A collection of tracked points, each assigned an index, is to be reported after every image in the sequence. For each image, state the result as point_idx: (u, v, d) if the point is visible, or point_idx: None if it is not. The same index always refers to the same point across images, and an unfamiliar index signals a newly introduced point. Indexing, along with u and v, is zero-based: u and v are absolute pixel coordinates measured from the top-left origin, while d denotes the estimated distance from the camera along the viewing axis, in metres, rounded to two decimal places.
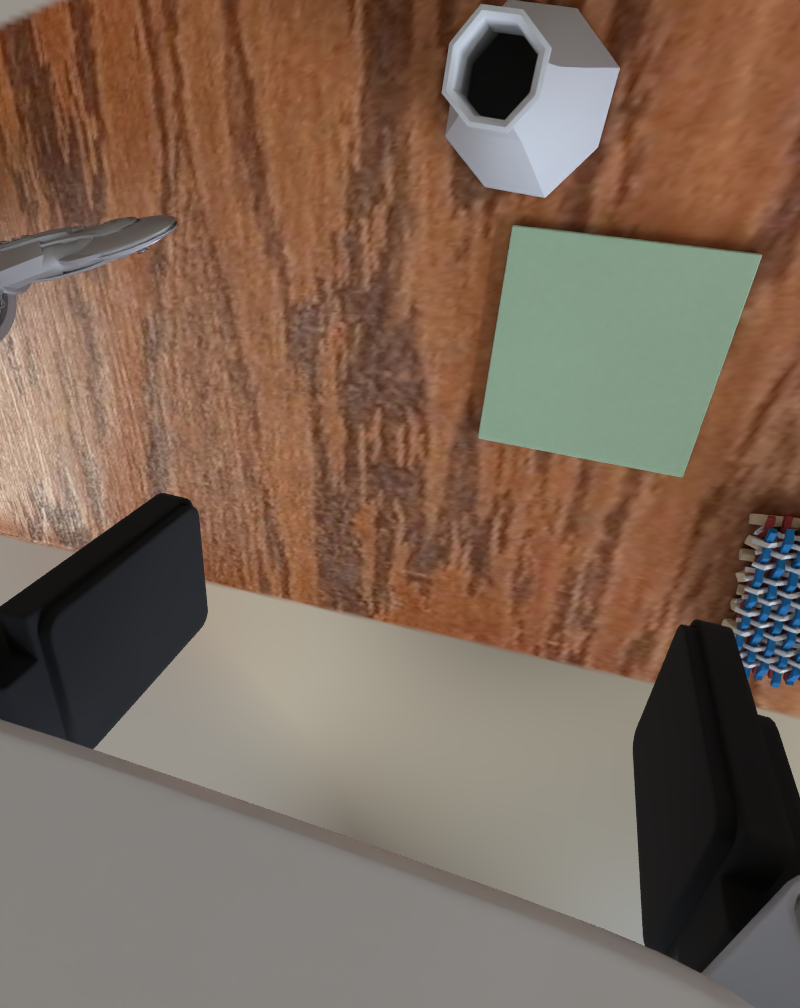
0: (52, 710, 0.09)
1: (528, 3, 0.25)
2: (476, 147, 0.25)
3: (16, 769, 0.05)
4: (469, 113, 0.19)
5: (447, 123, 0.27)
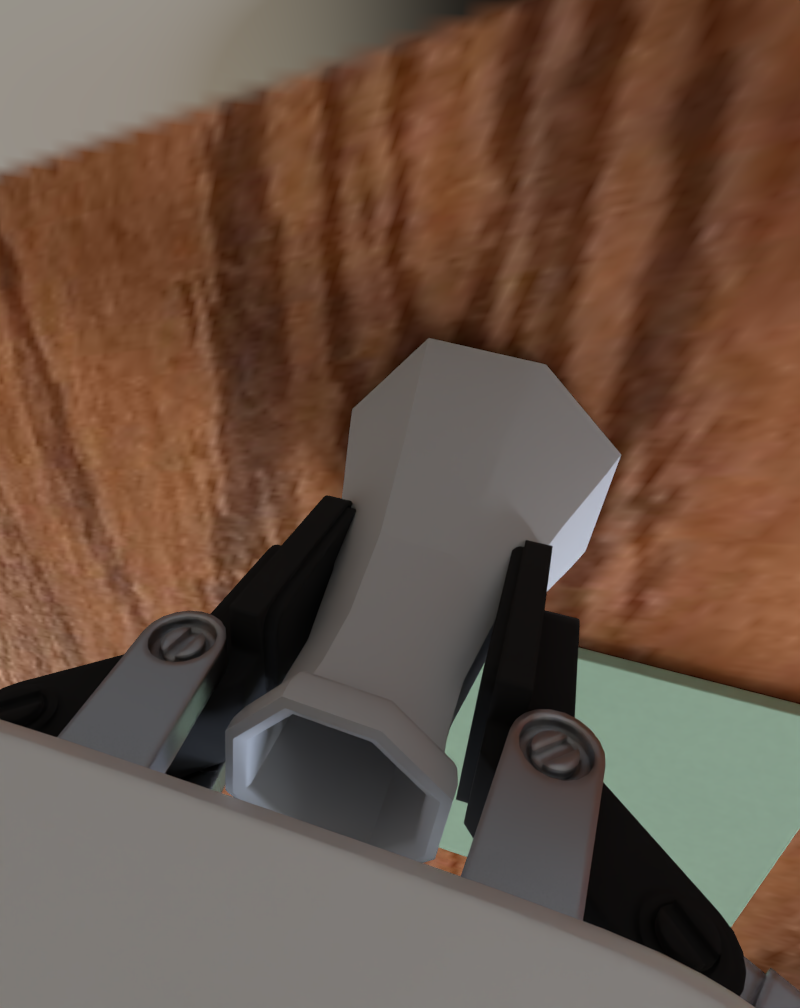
0: None
1: (462, 353, 0.14)
2: None
3: (16, 769, 0.05)
4: None
5: None
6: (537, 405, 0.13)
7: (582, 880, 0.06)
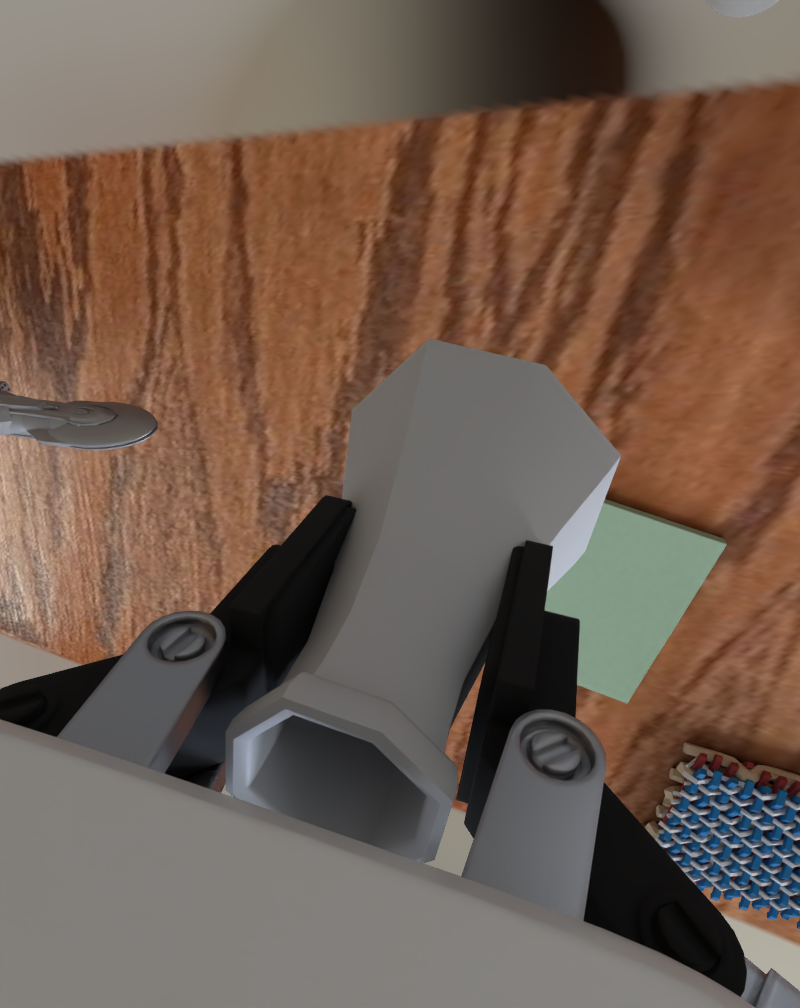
0: None
1: (462, 354, 0.14)
2: None
3: (16, 769, 0.05)
4: None
5: None
6: (537, 406, 0.13)
7: (583, 880, 0.06)
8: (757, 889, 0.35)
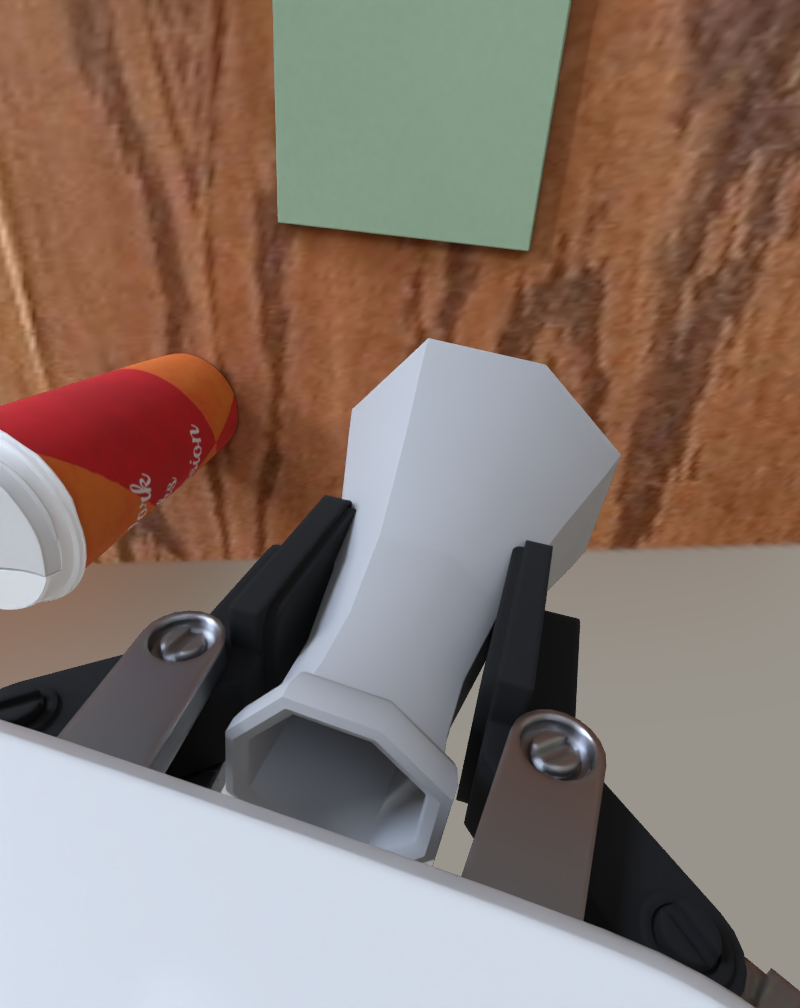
0: None
1: (461, 354, 0.14)
2: None
3: (16, 769, 0.05)
4: None
5: None
6: (537, 405, 0.13)
7: (582, 880, 0.06)
8: None
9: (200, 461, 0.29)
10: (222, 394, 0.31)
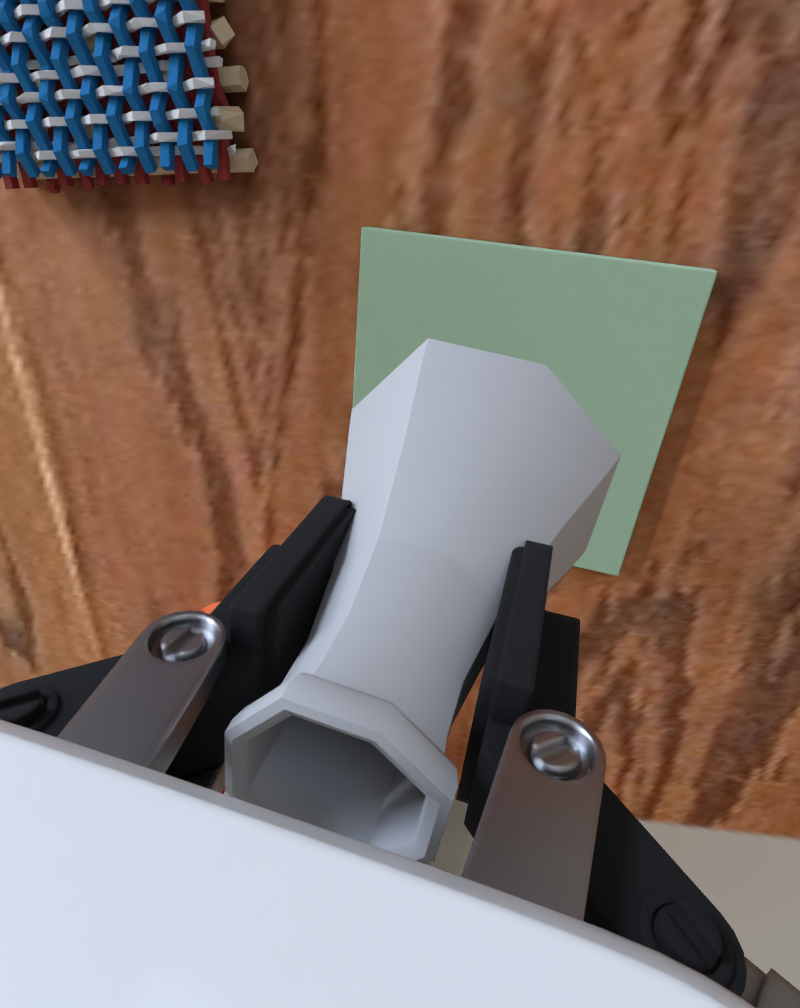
0: None
1: (461, 354, 0.14)
2: None
3: (16, 769, 0.05)
4: None
5: None
6: (537, 405, 0.13)
7: (582, 880, 0.06)
8: None
9: None
10: None
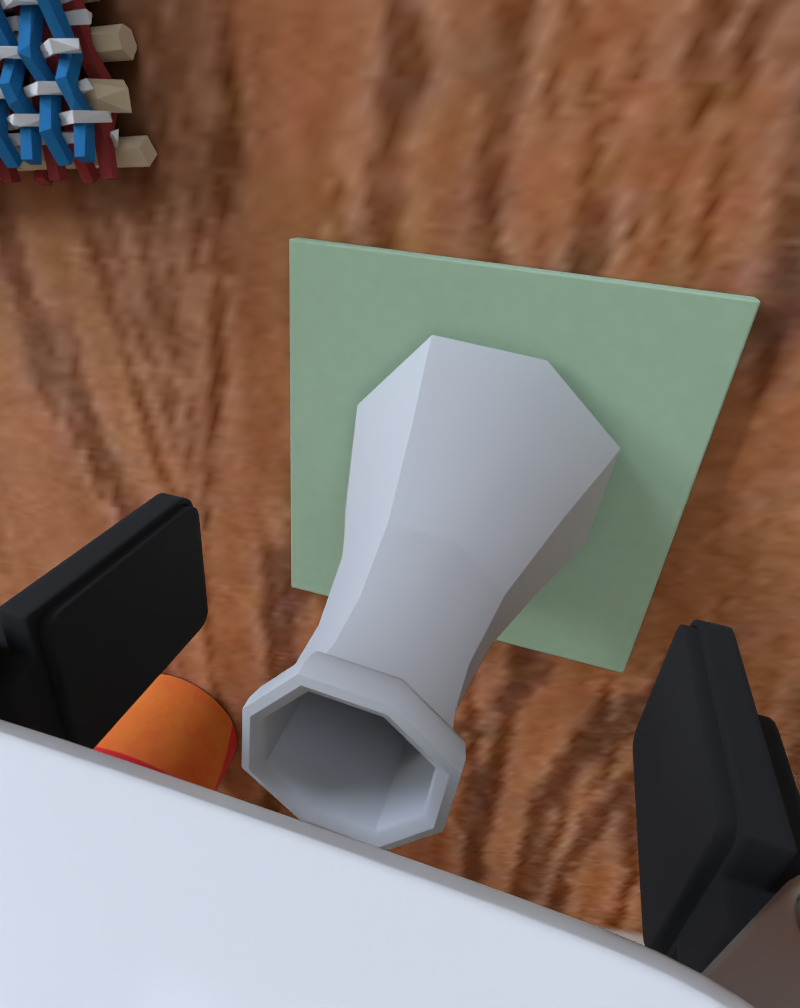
0: (52, 711, 0.09)
1: (465, 350, 0.15)
2: None
3: (16, 769, 0.05)
4: (302, 805, 0.09)
5: None
6: (538, 400, 0.14)
7: None
8: None
9: None
10: (218, 736, 0.25)
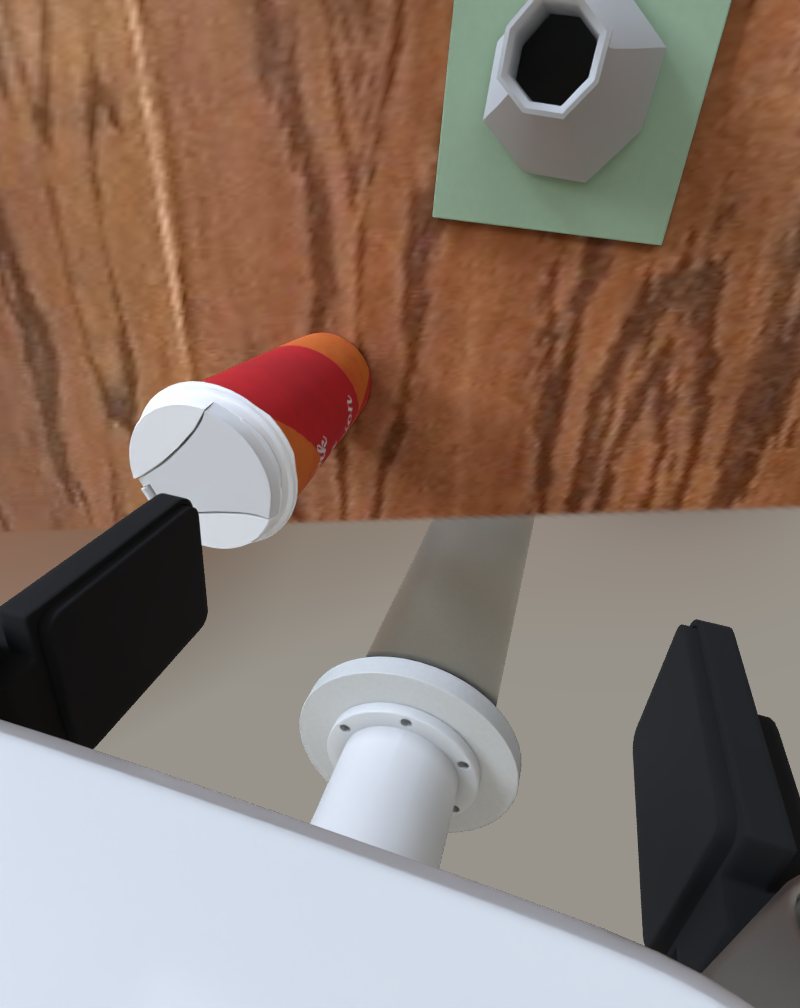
0: (53, 710, 0.09)
1: None
2: (519, 132, 0.24)
3: (16, 769, 0.05)
4: (524, 99, 0.19)
5: (486, 107, 0.27)
6: None
7: None
8: None
9: (348, 428, 0.33)
10: (362, 369, 0.35)
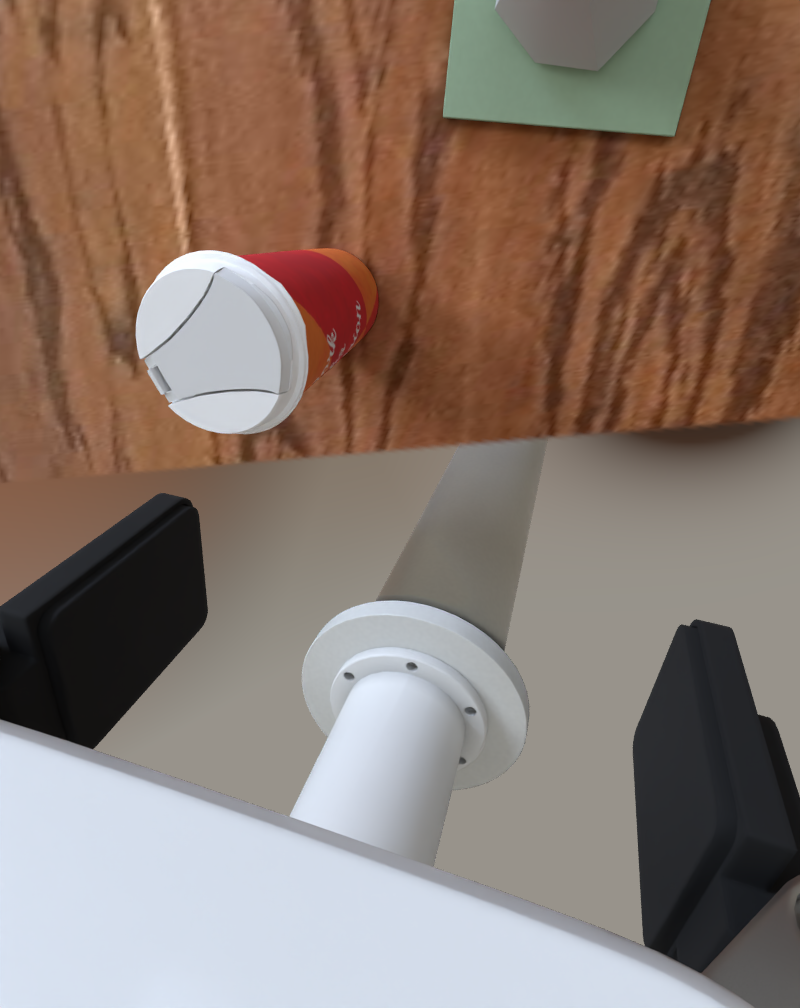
0: (52, 710, 0.09)
1: None
2: (533, 4, 0.24)
3: (16, 769, 0.05)
4: None
5: None
6: None
7: None
8: None
9: (356, 339, 0.33)
10: (370, 283, 0.34)
